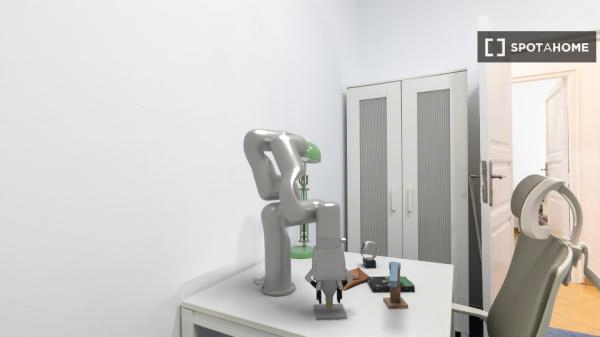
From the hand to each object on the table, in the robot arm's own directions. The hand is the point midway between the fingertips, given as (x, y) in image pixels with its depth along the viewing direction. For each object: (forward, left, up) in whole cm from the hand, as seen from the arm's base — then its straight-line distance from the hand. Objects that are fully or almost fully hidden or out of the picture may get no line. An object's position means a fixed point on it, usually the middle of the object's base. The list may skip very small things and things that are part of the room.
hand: (329, 301), depth 96 cm
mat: (0, 0, -3) cm, 3 cm away
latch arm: (+19, -3, +8) cm, 21 cm away
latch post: (+22, +4, -3) cm, 22 cm away
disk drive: (+25, +18, -4) cm, 31 cm away
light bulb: (0, 0, -2) cm, 2 cm away
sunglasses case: (+11, +24, -4) cm, 27 cm away
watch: (+23, +42, -4) cm, 48 cm away
